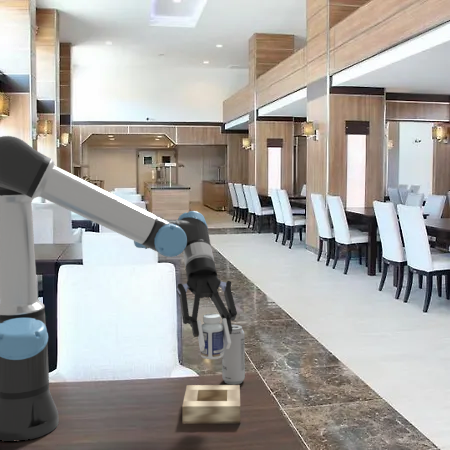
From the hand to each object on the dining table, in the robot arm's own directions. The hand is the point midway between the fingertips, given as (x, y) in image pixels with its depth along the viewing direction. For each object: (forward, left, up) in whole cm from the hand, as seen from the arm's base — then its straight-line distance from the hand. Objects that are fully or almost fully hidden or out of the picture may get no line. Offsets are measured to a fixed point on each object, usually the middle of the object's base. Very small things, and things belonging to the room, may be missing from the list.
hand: (215, 346), depth 133 cm
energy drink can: (+4, +23, -17) cm, 29 cm away
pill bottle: (-1, +4, -4) cm, 5 cm away
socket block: (-1, +3, -17) cm, 17 cm away
